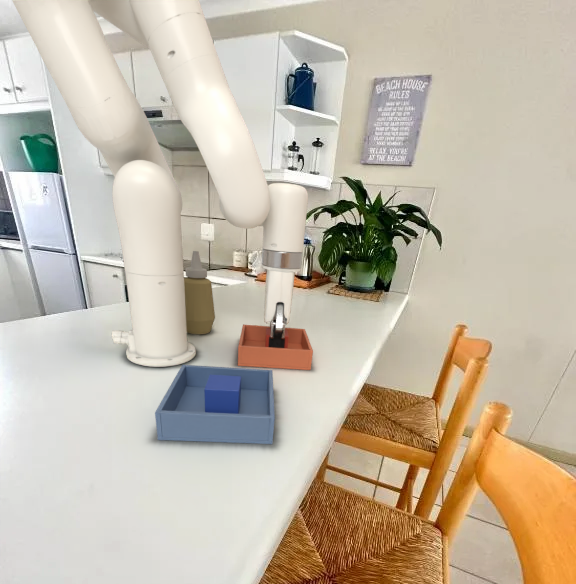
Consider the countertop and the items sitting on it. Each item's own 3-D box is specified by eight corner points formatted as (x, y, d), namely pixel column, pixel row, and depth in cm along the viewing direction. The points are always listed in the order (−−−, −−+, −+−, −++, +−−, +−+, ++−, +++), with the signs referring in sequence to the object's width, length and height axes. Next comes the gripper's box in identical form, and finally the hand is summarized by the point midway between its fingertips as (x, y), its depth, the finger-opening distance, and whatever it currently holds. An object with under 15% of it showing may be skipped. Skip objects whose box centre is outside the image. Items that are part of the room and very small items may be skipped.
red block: (264, 355, 66) (266, 334, 64) (264, 347, 70) (266, 328, 68) (286, 357, 67) (288, 336, 65) (285, 349, 71) (287, 329, 69)
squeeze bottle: (221, 330, 80) (221, 252, 72) (203, 339, 73) (201, 254, 65) (193, 324, 82) (190, 248, 74) (173, 332, 75) (167, 249, 67)
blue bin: (157, 440, 40) (154, 412, 38) (183, 387, 52) (182, 364, 50) (272, 444, 41) (274, 417, 39) (270, 391, 54) (272, 369, 52)
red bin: (237, 365, 62) (238, 346, 60) (242, 341, 74) (242, 324, 73) (310, 370, 63) (313, 351, 61) (303, 345, 76) (305, 328, 74)
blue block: (204, 417, 44) (204, 389, 42) (210, 401, 48) (209, 374, 46) (238, 419, 44) (238, 390, 42) (240, 403, 48) (241, 376, 46)
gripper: (262, 254, 68) (258, 337, 76) (261, 265, 53) (256, 366, 61) (297, 257, 68) (290, 339, 76) (306, 268, 53) (296, 369, 61)
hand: (275, 350), depth 68 cm, fingers closed on red block, 4 cm apart
